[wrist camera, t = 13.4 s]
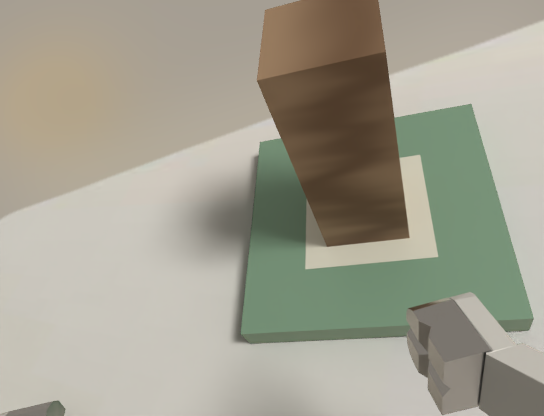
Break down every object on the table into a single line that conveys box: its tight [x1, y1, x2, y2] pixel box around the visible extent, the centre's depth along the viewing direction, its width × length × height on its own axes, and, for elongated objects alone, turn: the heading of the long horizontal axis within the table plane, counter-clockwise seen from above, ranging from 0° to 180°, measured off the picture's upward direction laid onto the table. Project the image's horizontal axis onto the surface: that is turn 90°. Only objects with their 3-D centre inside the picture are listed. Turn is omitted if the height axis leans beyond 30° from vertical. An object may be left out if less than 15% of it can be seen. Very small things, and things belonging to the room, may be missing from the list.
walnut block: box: [257, 0, 410, 247], centre depth 21 cm, size 4×4×12 cm
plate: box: [241, 104, 534, 343], centre depth 26 cm, size 14×14×2 cm
